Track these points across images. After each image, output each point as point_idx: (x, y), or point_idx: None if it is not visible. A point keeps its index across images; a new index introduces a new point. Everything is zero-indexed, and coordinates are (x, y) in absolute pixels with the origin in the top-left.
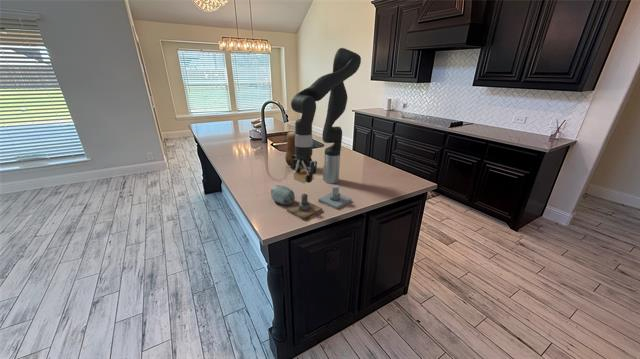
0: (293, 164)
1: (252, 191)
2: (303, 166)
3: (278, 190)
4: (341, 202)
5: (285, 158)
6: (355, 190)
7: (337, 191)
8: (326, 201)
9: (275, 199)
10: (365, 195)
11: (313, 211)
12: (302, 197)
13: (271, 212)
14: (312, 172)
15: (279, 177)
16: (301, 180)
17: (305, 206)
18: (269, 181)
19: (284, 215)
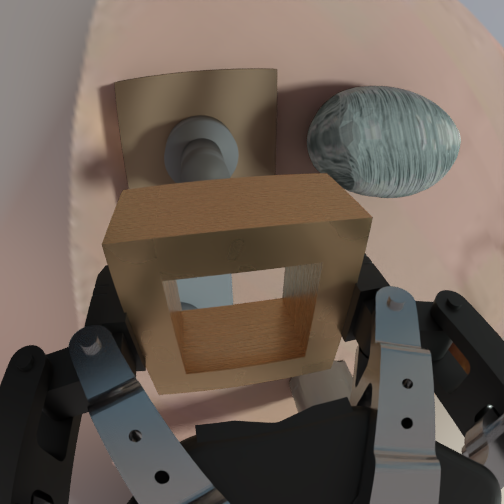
0: (473, 337)
1: (499, 118)
2: (233, 439)
3: (415, 122)
4: None
5: (497, 333)
6: (199, 392)
7: None
8: (181, 280)
9: (387, 86)
10: (149, 391)
11: (136, 165)
12: (202, 154)
13: (324, 10)
14: (3, 388)
15: (476, 262)
16: (165, 197)
17: (169, 140)
18: (491, 218)
19: (245, 31)
